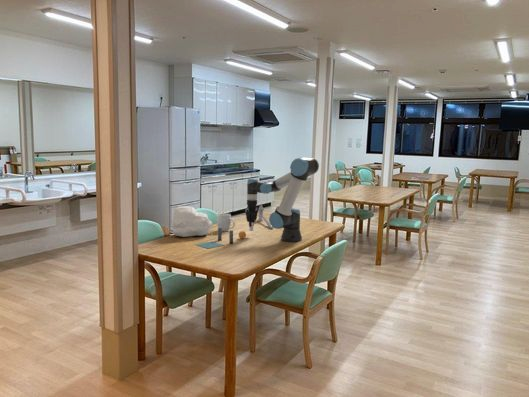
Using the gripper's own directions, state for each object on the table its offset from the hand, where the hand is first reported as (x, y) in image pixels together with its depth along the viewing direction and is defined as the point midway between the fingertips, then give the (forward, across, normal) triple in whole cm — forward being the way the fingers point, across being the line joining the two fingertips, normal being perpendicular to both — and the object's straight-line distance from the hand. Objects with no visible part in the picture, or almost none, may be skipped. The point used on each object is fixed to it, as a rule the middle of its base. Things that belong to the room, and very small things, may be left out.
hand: (251, 230), depth 328 cm
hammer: (+5, -41, -26) cm, 49 cm away
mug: (+5, +2, -28) cm, 29 cm away
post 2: (+4, +26, +7) cm, 27 cm away
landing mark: (+5, +40, 0) cm, 40 cm away
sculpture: (+5, +30, -34) cm, 45 cm away
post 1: (+5, +26, -6) cm, 27 cm away
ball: (+2, +10, 0) cm, 10 cm away
